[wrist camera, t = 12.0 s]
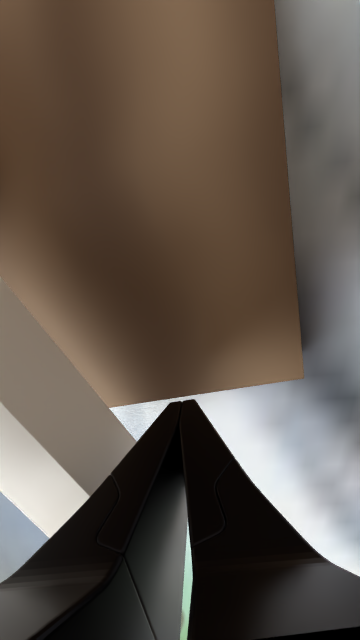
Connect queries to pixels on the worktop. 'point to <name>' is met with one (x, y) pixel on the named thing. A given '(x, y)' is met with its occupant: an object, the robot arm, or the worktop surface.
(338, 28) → the worktop surface
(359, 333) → the worktop surface
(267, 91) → the post board
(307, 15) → the worktop surface
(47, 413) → the orange and white spoon
